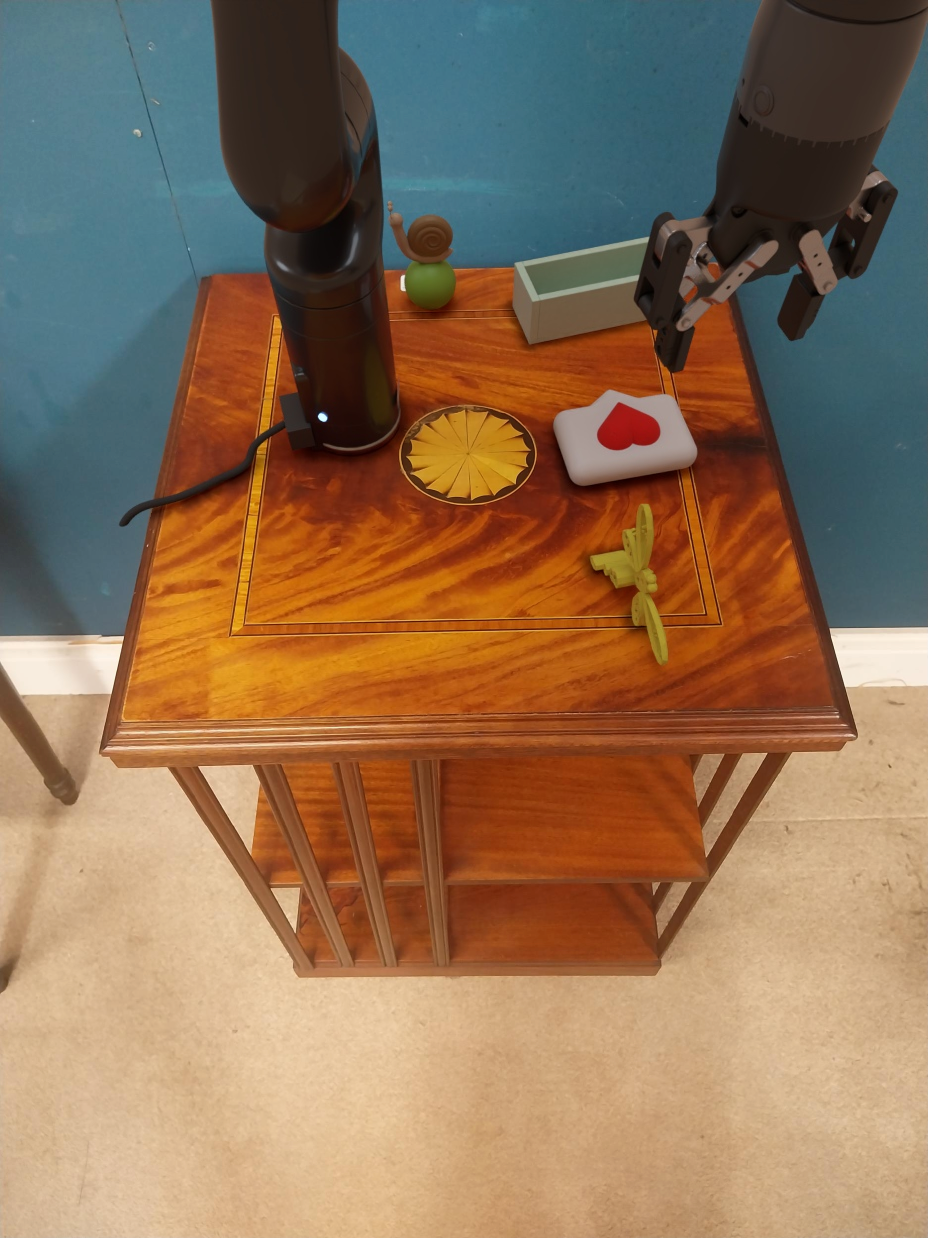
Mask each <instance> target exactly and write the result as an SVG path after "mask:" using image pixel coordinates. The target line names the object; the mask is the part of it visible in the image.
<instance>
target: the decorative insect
mask: <svg viewBox="0 0 928 1238" xmlns="http://www.w3.org/2000/svg"><path fill="white" fill-rule="evenodd" d="M635 520H636V521H635V527H633V528H626V529H623V530H622V533H621V539H622V544H623V548H624V549H622V550H621V549H620V550H616V551H610V552H605V553H599V554H594V555H590V556H589V560H590V564H591V566H592V569H593V570H595V571H601V570H603V573H604V576H606V577H608V576H609V578H610V581H611V582H612V583H613V585H614V587H615V589H620V588H625V587H631V586H635V587H636V588H637V589H638V591H637V593H636V594H635V595H634V596H633V597H632V601H631V609H630V610H631V618H632V619H631V620H632V623H633V626H635V627H641V626H642V627H643V626H644V627H646V630H647V634H648V637H649V641H650V647H651V649H652V652H653V655H654V658H655V659H656V662H657V663H658V664H659V665H660V666H665V665H667V664H668V662H669V649H668V641H667V635H666V630H665V628H664V624H663V622H662V619H661V615H660V613H659V611H658V609H657V606H656V604H655V602H654V600H653V598H652V596H651V594H654V593H656V592H657V591H658V584H657V580H658V578H657V576H656V574H654V570H651V569H650V568H649V567H648V566H649V563H650V560H651V556H652V551H653V547H654V540H655V528H654V517H653V512H652V508H651V506H650V504H649V503H640V504H639V506H638V507H637V512H636V519H635ZM650 593H651V594H650Z"/></svg>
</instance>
